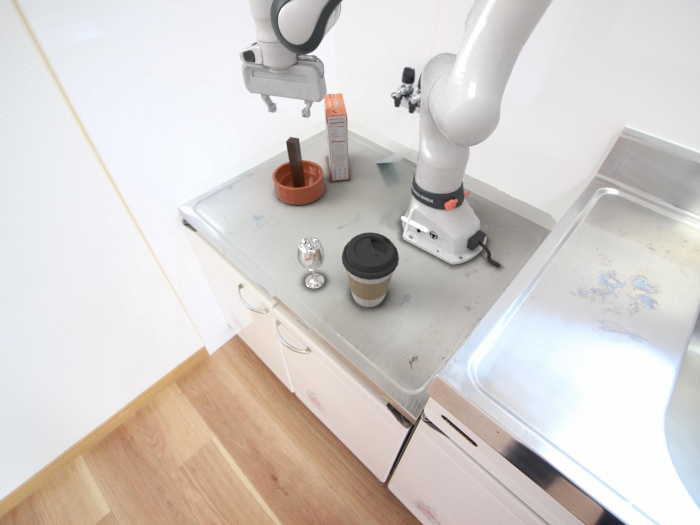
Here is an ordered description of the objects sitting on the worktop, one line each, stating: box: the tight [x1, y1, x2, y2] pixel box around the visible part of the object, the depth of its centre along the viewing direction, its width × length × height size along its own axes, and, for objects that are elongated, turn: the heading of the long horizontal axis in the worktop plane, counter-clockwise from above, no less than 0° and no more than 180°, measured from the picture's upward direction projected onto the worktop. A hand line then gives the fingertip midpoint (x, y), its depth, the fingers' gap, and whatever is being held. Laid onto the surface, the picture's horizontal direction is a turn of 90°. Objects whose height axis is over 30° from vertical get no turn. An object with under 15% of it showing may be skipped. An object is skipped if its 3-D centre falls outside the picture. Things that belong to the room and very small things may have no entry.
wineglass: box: [297, 236, 326, 290], centre depth 75 cm, size 6×6×12 cm
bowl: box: [271, 159, 325, 206], centre depth 101 cm, size 15×15×6 cm
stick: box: [285, 136, 305, 188], centre depth 96 cm, size 3×3×16 cm
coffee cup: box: [341, 232, 400, 308], centre depth 71 cm, size 11×11×15 cm
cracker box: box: [323, 93, 350, 182], centre depth 103 cm, size 14×6×21 cm, turn 6°
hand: (289, 114), depth 85 cm, fingers open, 8 cm apart
